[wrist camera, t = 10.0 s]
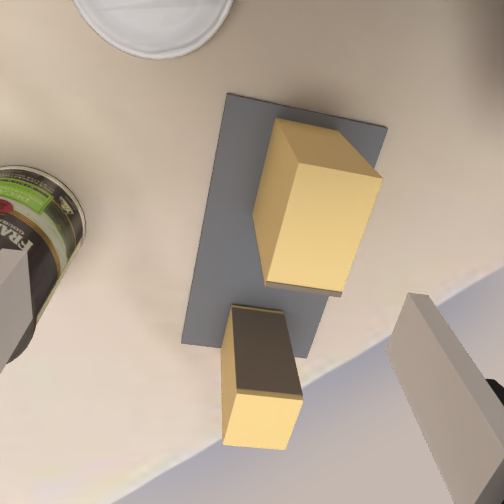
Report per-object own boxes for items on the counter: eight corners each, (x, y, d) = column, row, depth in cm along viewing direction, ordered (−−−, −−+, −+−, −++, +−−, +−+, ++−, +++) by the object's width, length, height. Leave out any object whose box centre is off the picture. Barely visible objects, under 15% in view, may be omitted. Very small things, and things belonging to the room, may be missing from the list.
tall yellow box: (275, 117, 38) (299, 163, 28) (337, 130, 39) (384, 179, 28) (252, 215, 42) (264, 288, 32) (308, 225, 43) (339, 298, 33)
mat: (227, 93, 37) (227, 94, 37) (386, 127, 40) (388, 128, 39) (181, 340, 49) (181, 343, 49) (305, 355, 52) (306, 358, 51)
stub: (231, 304, 47) (236, 392, 36) (283, 311, 47) (303, 399, 37) (220, 350, 49) (222, 444, 39) (270, 355, 50) (285, 450, 40)
